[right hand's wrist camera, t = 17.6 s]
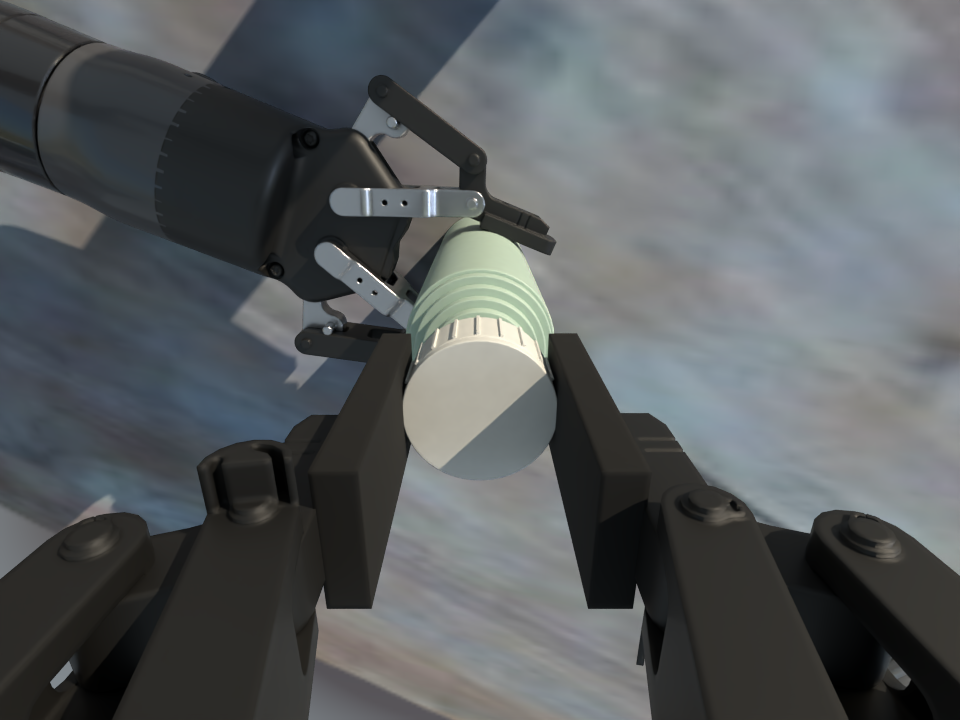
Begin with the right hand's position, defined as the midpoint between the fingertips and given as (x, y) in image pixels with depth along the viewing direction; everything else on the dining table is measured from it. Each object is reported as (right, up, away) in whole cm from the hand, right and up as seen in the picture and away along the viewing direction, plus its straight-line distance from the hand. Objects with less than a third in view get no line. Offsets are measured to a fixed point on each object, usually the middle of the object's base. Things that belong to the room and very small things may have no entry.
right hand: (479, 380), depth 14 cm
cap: (0, -1, -2) cm, 2 cm away
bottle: (0, +7, +18) cm, 19 cm away
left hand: (+2, +4, +12) cm, 13 cm away
